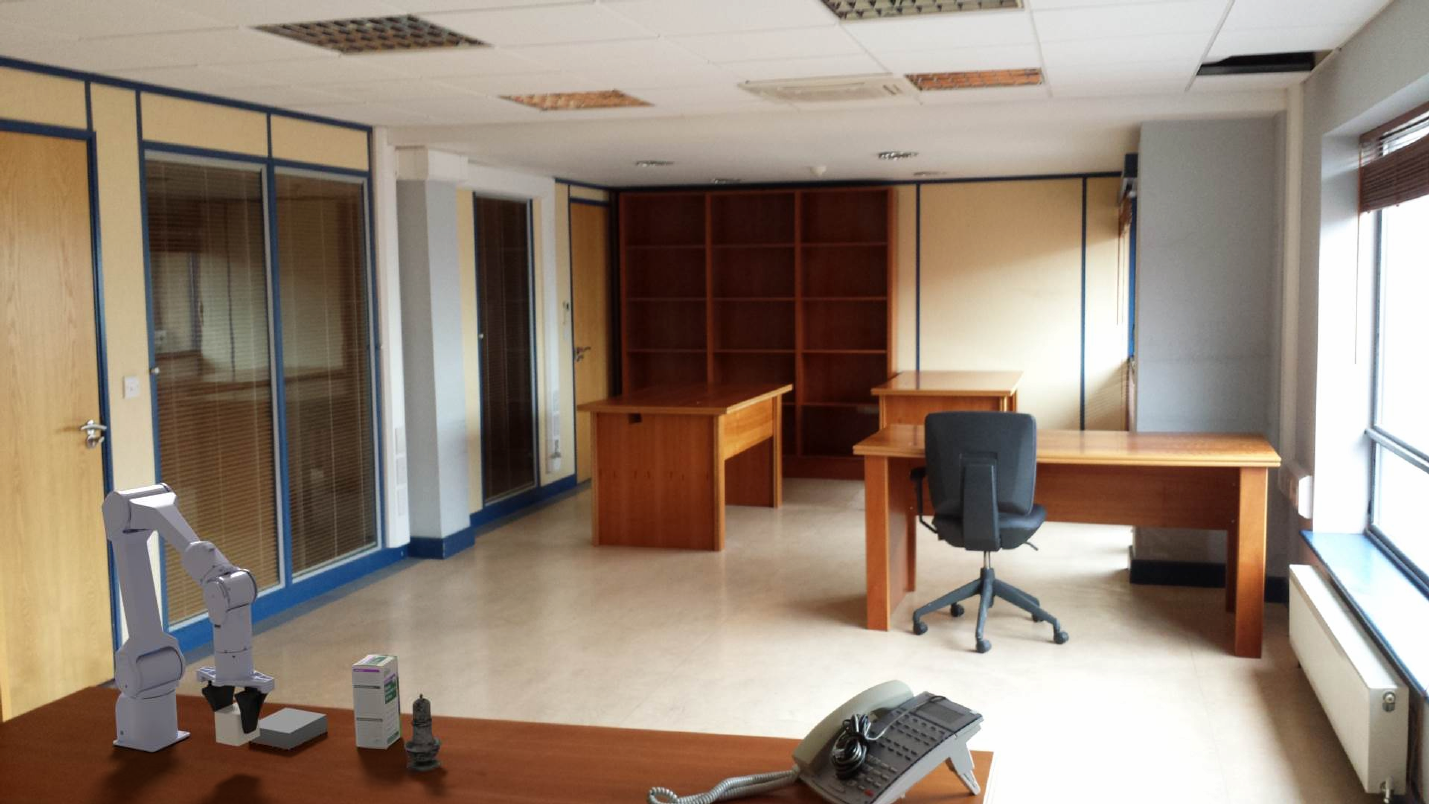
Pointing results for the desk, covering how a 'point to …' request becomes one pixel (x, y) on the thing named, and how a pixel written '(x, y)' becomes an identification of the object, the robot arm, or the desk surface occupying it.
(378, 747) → the syrup box
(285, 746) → the block
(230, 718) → the cream white cube
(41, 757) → the desk surface
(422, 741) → the salt shaker
